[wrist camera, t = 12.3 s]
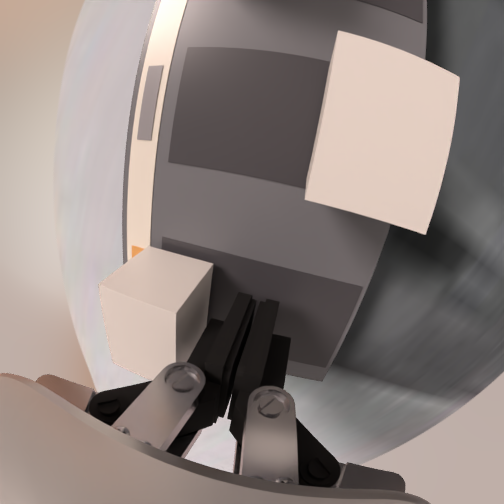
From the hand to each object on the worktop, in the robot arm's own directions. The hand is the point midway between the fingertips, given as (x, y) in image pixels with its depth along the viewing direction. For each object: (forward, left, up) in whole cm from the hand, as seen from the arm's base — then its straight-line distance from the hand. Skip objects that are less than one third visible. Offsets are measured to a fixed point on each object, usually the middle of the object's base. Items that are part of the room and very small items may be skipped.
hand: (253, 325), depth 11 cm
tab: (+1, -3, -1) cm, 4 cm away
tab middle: (-8, -1, -1) cm, 8 cm away
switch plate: (-7, -4, -3) cm, 9 cm away
